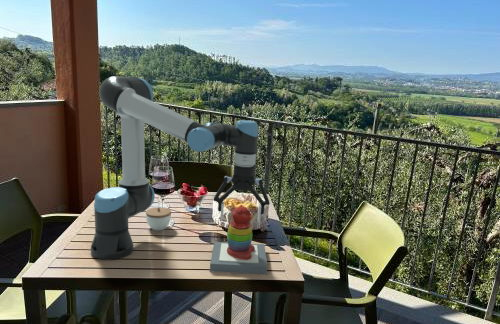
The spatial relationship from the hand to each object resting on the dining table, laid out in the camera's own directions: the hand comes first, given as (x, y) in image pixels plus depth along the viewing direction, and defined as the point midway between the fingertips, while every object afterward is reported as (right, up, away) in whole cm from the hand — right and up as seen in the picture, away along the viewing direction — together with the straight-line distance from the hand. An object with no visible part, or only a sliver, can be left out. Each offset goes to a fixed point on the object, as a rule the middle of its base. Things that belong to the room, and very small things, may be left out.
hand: (240, 220), depth 135 cm
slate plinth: (-1, -15, +3) cm, 16 cm away
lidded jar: (-37, -8, +29) cm, 47 cm away
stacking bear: (0, -12, +3) cm, 13 cm away
